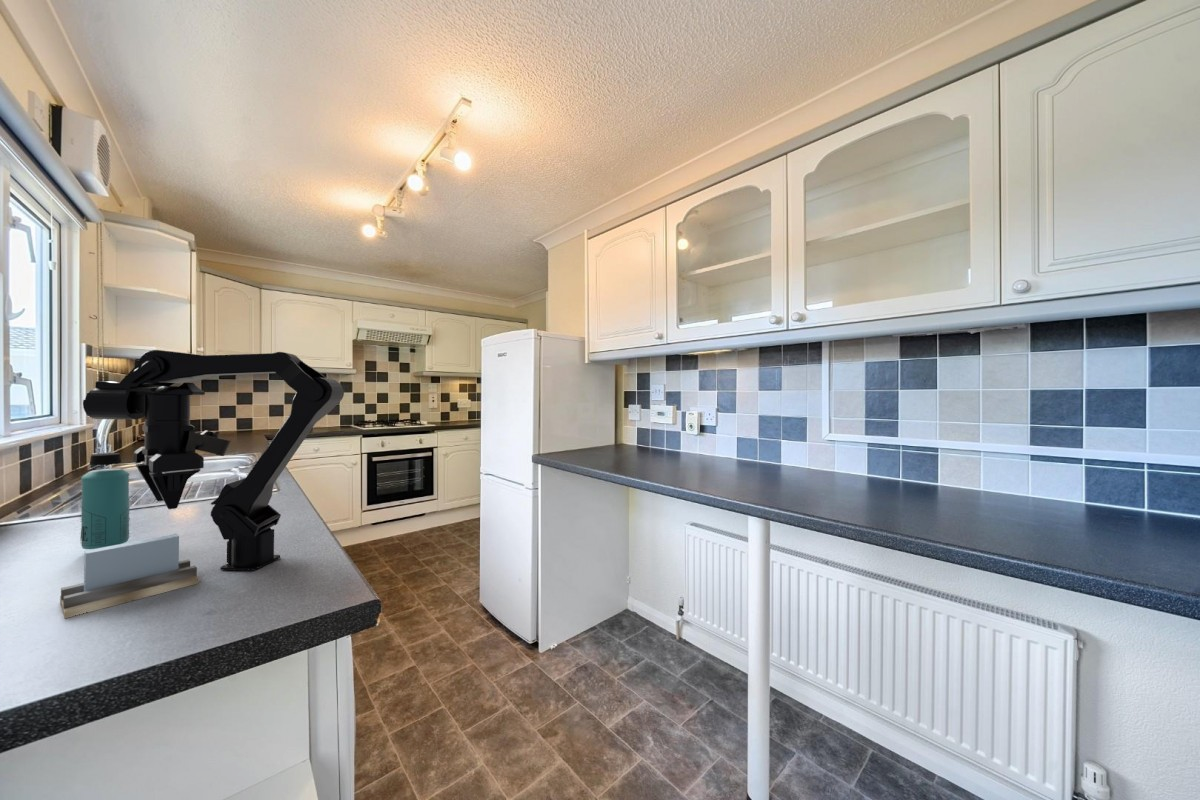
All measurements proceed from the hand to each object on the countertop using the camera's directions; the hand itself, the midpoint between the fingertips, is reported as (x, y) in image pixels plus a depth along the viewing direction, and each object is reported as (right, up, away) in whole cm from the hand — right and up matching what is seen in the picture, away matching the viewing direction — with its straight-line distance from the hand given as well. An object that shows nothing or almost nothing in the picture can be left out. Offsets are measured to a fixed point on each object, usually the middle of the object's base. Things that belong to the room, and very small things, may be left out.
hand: (166, 504), depth 75 cm
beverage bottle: (-21, -12, +8) cm, 25 cm away
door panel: (+4, -11, -9) cm, 14 cm away
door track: (+4, -12, -9) cm, 15 cm away
